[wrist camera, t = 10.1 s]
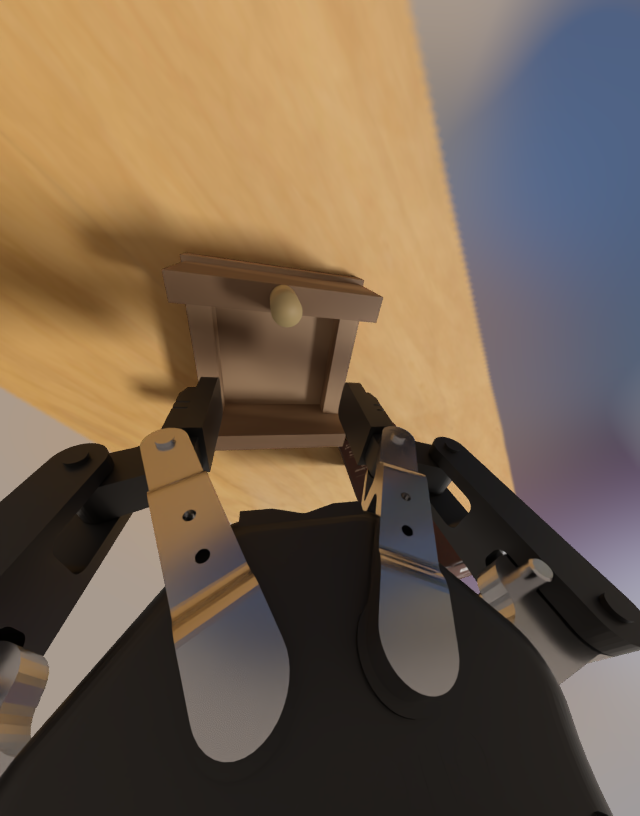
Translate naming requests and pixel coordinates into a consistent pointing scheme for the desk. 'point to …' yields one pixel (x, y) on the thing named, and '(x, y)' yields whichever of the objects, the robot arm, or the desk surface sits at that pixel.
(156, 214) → the desk surface
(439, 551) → the box
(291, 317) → the drawer
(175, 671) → the robot arm
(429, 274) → the desk surface
